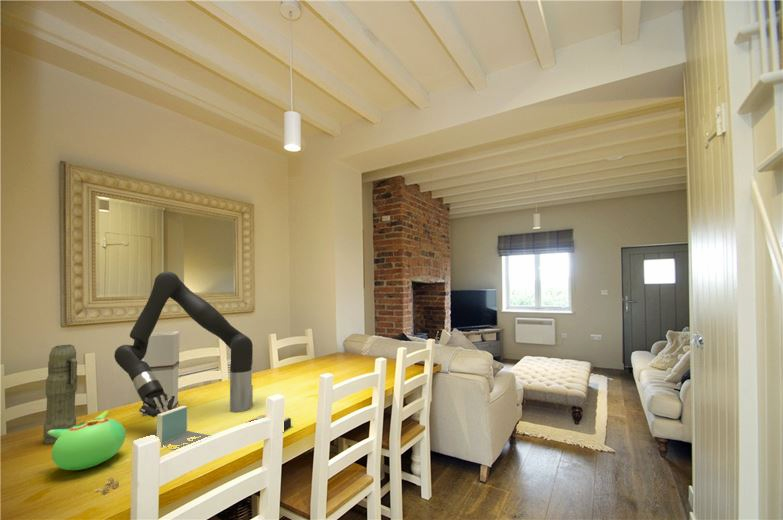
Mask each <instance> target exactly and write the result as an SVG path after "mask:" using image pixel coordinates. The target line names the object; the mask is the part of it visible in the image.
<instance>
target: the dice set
mask: <svg viewBox="0 0 783 520" xmlns="http://www.w3.org/2000/svg"><path fill="white" fill-rule="evenodd" d="M119 482H120V481H119V480H115V477H109V478H108V479H107V481H106V482H105V484H104V487H103V488H96V489H95V490H94V493H99V492H101V493H102V495H106V494H108V493H110V488H112V489H117V488H118V487H119Z"/></svg>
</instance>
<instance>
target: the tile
mask: <svg viewBox="0 0 783 520" xmlns="http://www.w3.org/2000/svg"><path fill="white" fill-rule="evenodd" d="M187 431H188V406H186V405H181V406H177V407H176V408H175V409H172V410H169V411H166V412H163V413H160V414H158V415H157V416H156V438H157V437H159V439H160V442H161V444H163V443H165V442H168V441H170V440H172V439H174V438H177V437H179V436H181V435H184V434H186V433H187Z"/></svg>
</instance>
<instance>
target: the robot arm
mask: <svg viewBox="0 0 783 520" xmlns="http://www.w3.org/2000/svg"><path fill="white" fill-rule="evenodd" d="M169 299H172V300H173V301H175V302H176V303H177V304H178V305H179V306H180V307H181V308H182V309H183V310H184V311H185V313H186V314H187V315H188V316H189V317H190V318H191V319H192V320H193V321H195V322H196V323H197V324H198V325H199V326H201V327H202V328H203V329H205V330H206V331H208V332H209V333H211V334H212V335H215V336H216V337H218V339H220V340H221V341H222V342H223V343H224V344H225V345H226V346H227V347H228V348H229V349H230V366H229V373H230V374H229V387H230V388H229V411H230V412H234V413H240V412H245V411H248V410H250V409H251V408H252V406H253V404H254V403H253V402H254V401H253V398H254V396H253V393H254V391H253V388H254V387H253V386H254V385H253V382H252V380H253V372H252V371H253V370H252V369H253V368H252V367H253V355H254V354H253V353H254V352H253V351H254V349H253V348H254V345H253V342H252V340H251V339H250V338H249V336H247V335H246V334H244V333H242V332H241V331H239V330H238V329H237V328H235V327H234V326H233V325H231V324H230V322H228V320H227V318H225V317H224V315H222V313H220V312H219V311H218V310H217V309H216V308H215V307H214V306H213V305H212V304H211V303H209V302H208V301H207V300H205V299H204V298H202V297H201V296H199V295H197V294H196V293H194V292H193V291H192V290H191V289H190V288H189V287H187V286H186V284H184V282H183V281H182V280H181V279H180V278H179V276H178V275H177V274H176V273H174V272H172V271H163V272H160V273H159V274H157V276H155V279H154V283H153V286H152V289H151V291H150V295H149V297H148V300H147V302H146V303H145V305H144V307H143V309H142V311H141V313H140V314H139V316H138V318H137V320H136V321H135V323H134V325H133V327H132V328H131V331H130V332H129V337H130V338H131V339H132V340H133V345H132V344H123V345H120V346H118V347H117V348H116V349H115V351H114V360H115V362H116V364H117V365H119V367H120V368H121V369H122V370H124V372H126V373H127V374H128V376H129V378H130V380H131V382H132V384H133V387H134V389H135V391H136V392H137V394H138V397H139V399H140V400H141V401H142V406H141V407H140V409H138V410H139V412H140V413H142V414H143V413H144V414H147V415H148V416H149V417H151V418H155V417H157V415H158V414H160V413H163V412H166V411H169V410H170V409H171V408H172V406H173V402H174V398H175V396H172V397H169V396H167V394H165V393H164V390H163V387H162V386H161V384H160V382H159V381H158V379H157V377H156V376H155V374H154V373H153V372H152V370H151V368H150V367H149V365H148V364H147V363H146V362H144V356H145V354H146V351H147V346H148V342H149V337H150V335H152V333H154V332H153V331H154V330H155V327H156V325H157V324H158V322H159V318H160V316H161V314H162V312H163V308H164V307H165V305H166V304H167V301H169ZM166 400H167V403H168V405H167V404H166Z"/></svg>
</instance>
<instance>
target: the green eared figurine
mask: <svg viewBox="0 0 783 520" xmlns="http://www.w3.org/2000/svg"><path fill="white" fill-rule="evenodd" d="M109 414H110V410H104V412H102V413H101V414H98V415H97V416H95V418H93V419H90V420H86V421H83V422H80V423H78V424H76V426H74V427H72V428H70V429H54V430H50V431H48V432H47V433H48V434H49V435H51V436H53V437H55V438H57V440H56V442H55V444H53V445H52V449H51V458H52V459H51V460H52V462H53V463H54V464H55V465H56V467H58V468H60V469H62V470H66V471H79V470H80V471H81V470H82V471H83V470H85V469H86V470H87V469H89V468H93V467H96V466H98V465H100V464H102V463H105V462H106V461H108V460H109V459H111V458H112V457H113V456H115V455H116V454H117V453H118V452H119V451H120V450H121V448H122V447H123V445H124V443H125V440H126V430H125V426H123V424H122V423H121V422H119V421H117V420H116V419H112V418H107V417H108V415H109Z"/></svg>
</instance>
